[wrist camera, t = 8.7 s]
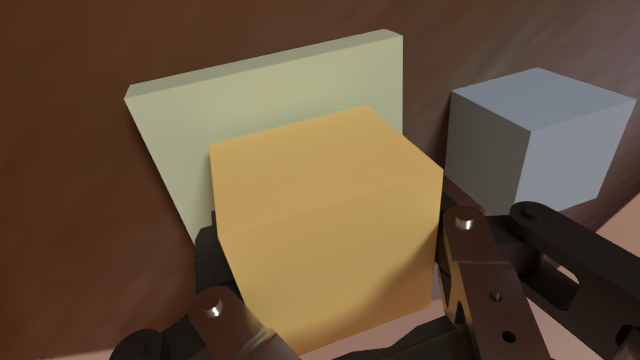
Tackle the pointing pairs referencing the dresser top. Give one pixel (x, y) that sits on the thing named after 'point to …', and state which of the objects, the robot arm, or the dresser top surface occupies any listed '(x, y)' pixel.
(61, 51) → the dresser top surface
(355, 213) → the ochre brick
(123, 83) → the dresser top surface
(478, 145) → the grey cube
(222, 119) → the plate
